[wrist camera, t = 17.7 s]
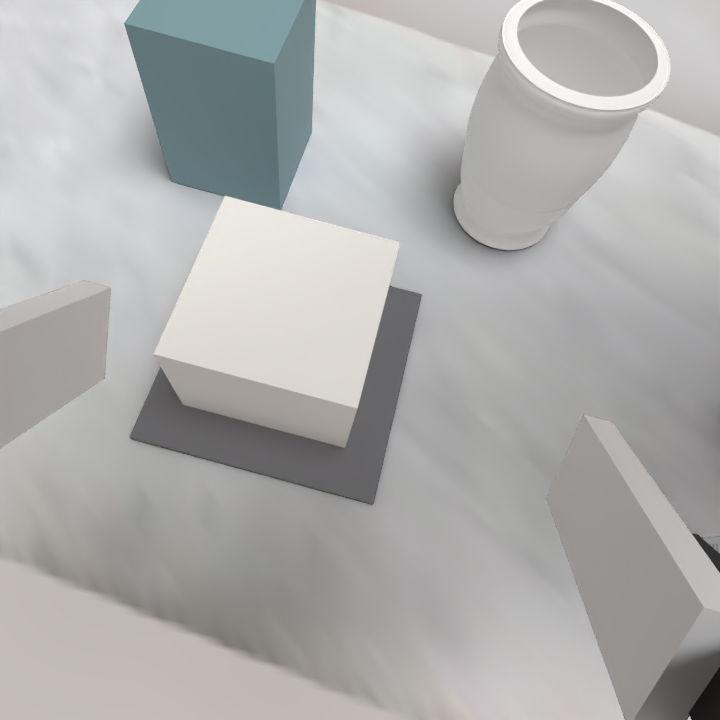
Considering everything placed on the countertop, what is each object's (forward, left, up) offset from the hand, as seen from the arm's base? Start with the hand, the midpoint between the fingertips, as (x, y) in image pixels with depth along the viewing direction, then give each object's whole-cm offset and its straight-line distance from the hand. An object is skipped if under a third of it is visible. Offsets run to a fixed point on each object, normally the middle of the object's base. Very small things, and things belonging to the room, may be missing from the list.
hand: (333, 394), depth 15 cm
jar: (-23, -18, -21) cm, 36 cm away
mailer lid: (-2, -11, -21) cm, 23 cm away
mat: (-2, -10, -21) cm, 23 cm away
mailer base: (-4, -29, -21) cm, 36 cm away
